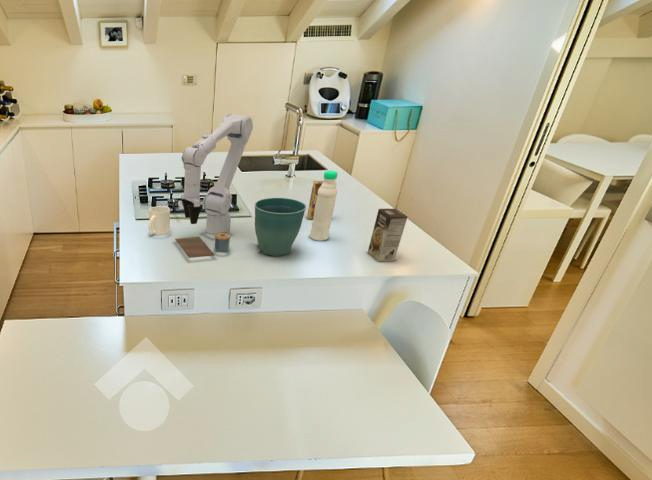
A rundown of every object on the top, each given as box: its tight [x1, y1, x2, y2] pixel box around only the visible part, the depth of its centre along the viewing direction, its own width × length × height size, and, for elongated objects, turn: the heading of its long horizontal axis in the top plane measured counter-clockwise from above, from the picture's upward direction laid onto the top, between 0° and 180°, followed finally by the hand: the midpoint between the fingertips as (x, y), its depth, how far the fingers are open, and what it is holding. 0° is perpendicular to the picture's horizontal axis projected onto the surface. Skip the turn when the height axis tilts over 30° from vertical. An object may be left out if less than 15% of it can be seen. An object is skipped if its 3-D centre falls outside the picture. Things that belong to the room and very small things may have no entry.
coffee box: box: [367, 208, 408, 262], centre depth 180 cm, size 9×6×16 cm
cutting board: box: [174, 236, 215, 259], centre depth 192 cm, size 20×10×2 cm, turn 12°
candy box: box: [306, 180, 337, 220], centre depth 216 cm, size 9×4×15 cm, turn 86°
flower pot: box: [254, 197, 307, 256], centre depth 186 cm, size 18×18×17 cm
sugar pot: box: [214, 232, 231, 253], centre depth 188 cm, size 6×6×8 cm
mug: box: [148, 205, 171, 236], centre depth 203 cm, size 12×8×10 cm
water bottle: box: [309, 170, 338, 241], centre depth 194 cm, size 7×7×25 cm
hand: (190, 220), depth 192 cm, fingers open, 7 cm apart
